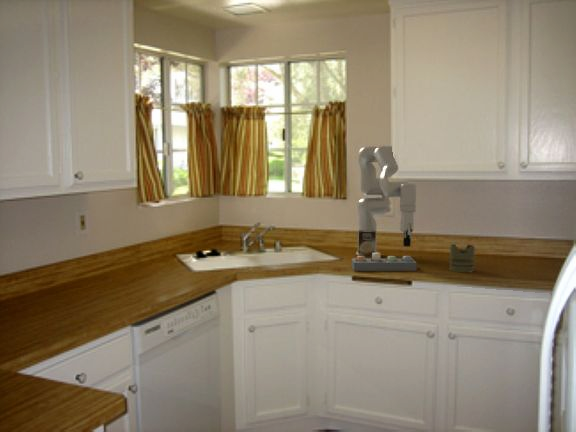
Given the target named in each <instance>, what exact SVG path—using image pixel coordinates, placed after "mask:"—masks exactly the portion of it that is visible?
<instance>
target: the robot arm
mask: <svg viewBox="0 0 576 432" xmlns="http://www.w3.org/2000/svg"><path fill="white" fill-rule="evenodd" d="M392 146H393V145H382V146H381V145H380V146H364V147H362V148H360V149H359V152H358V155H357V156H358V157H357V158H358V164H359V168H360V181H359V182H360V183H359V185H360V193H361V194H362V195H364V196H378V197H364V198H360V199H359V200H358V202H357V211H358V231H359V230H373V231H376V232H377V221H376V219H375V218H374V216H378V215H386V214H387V213H388V211H389V209H390V198H399V212H400V213H401V214H400V223H399V224H400V227H399V230H400V232H402V233H403V243H402V244H403V247H411V244H412V243H411V235H412V233H413V231H414V217H415V216H414V213H416V210H417V209H416V207H417V204H416V203H417V202H416V201H417V185H416V184H415V183H412V182H408V181H395V182H394V181H389V178H390V177H392V176H394V175H395V174H396V173H397V172H398V170H399V165H398V162H396V161H395V159H394V157H393V152H392ZM373 163H377V165H378V166H379V168H380V170H381V173H380V175H379V177H377V169H376V167H375V165H374V164H373ZM355 253H356V255H357V256H358V251H356V252H355ZM375 253H380V252H379V251H377V246H376V247H375Z"/></svg>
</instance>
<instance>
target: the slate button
mask: <svg viewBox="0 0 576 432" xmlns="http://www.w3.org/2000/svg"><path fill="white" fill-rule="evenodd" d="M402 258H403V261H411V258H412V256H411V255H402Z"/></svg>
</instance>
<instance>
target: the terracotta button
mask: <svg viewBox="0 0 576 432" xmlns="http://www.w3.org/2000/svg"><path fill="white" fill-rule="evenodd" d="M356 258H357V261H365V256H358V255H357V256H356Z"/></svg>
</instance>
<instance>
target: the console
mask: <svg viewBox="0 0 576 432" xmlns="http://www.w3.org/2000/svg"><path fill="white" fill-rule="evenodd" d="M417 263H418V262H416V260H415V259H413V258H412V257H411V261H403V257H401V258H400V257H399V258H397V257H396V261H388V257H386V258H381V260H380V261H372V258H365V261H357V257H354V258H353V257H352V258H351V268H352V270H353V271H354V272H359V271H360V272H364V271H365V272H369V271H370V272H375V271H376V272H377V271H378V272H379V271H380V272H382V271H384V272H388V271H389V272H392V271H393V272H394V271H395V272H403V271H405V272H406V271H408V272H410V271H411V272H412V271H413V272H416V271H417V269H418V267H417V266H418V265H417Z"/></svg>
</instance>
